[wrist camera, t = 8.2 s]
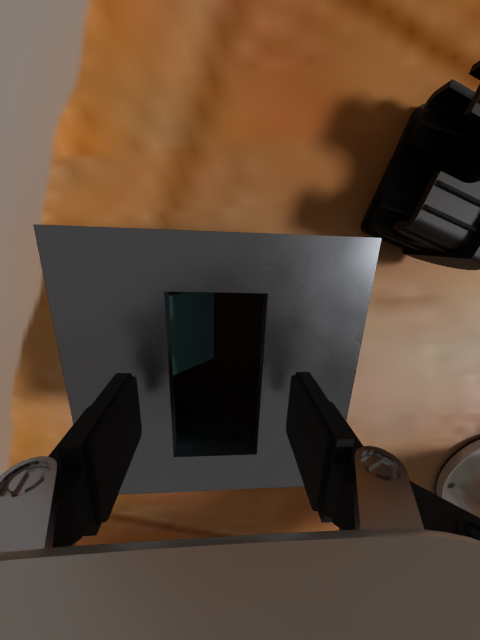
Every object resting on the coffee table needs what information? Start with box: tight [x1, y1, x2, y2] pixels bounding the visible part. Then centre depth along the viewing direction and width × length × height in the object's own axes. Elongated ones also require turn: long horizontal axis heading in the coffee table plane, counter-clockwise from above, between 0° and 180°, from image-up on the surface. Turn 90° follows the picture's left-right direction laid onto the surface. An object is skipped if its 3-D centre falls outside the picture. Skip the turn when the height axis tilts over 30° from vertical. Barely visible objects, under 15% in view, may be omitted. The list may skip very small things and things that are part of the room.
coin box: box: [34, 225, 382, 495], centre depth 17 cm, size 14×14×10 cm
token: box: [169, 292, 215, 376], centre depth 19 cm, size 2×6×6 cm
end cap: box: [361, 61, 480, 270], centre depth 17 cm, size 10×7×7 cm
